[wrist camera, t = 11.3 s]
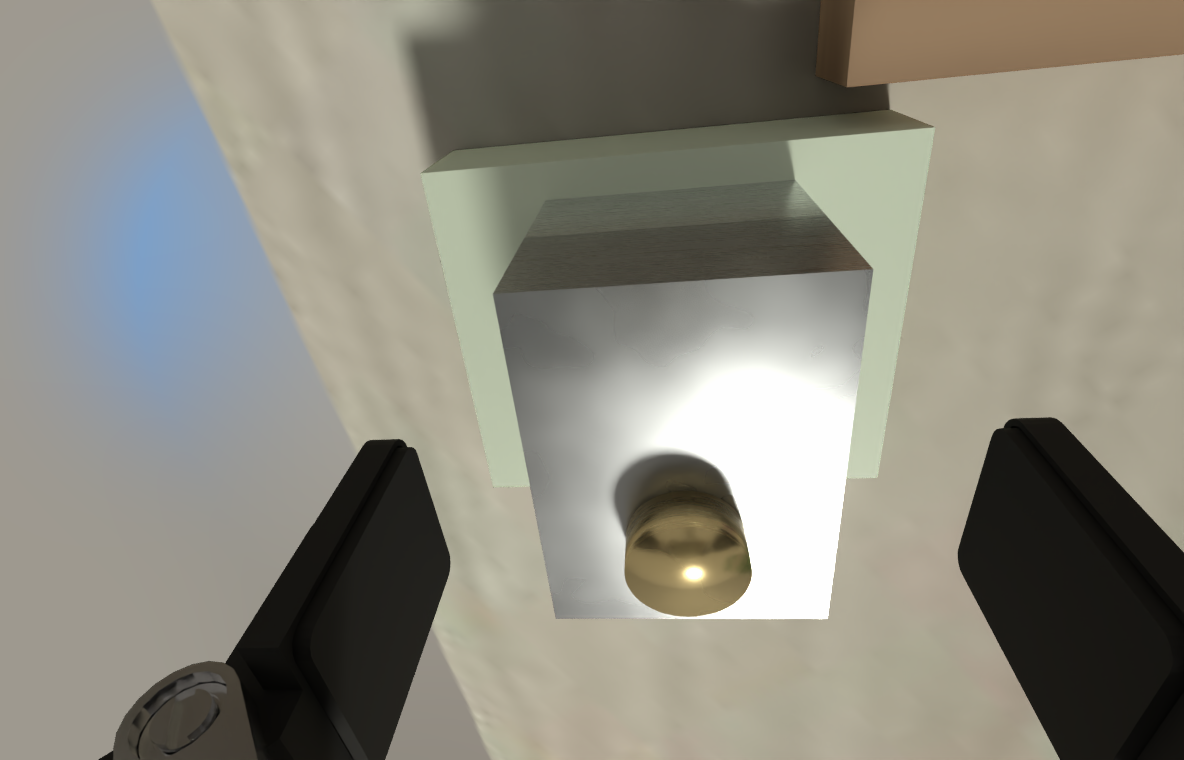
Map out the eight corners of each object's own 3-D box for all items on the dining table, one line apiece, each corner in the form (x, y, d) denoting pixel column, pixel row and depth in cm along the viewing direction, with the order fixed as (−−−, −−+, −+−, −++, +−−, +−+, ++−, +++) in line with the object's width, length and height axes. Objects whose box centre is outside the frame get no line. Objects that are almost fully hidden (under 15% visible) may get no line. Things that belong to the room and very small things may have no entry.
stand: (453, 150, 18) (420, 173, 15) (890, 109, 16) (935, 127, 14) (510, 434, 23) (492, 487, 20) (849, 421, 21) (877, 477, 19)
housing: (545, 200, 15) (478, 319, 9) (795, 179, 15) (896, 294, 9) (581, 457, 19) (549, 657, 13) (778, 451, 19) (839, 659, 13)
